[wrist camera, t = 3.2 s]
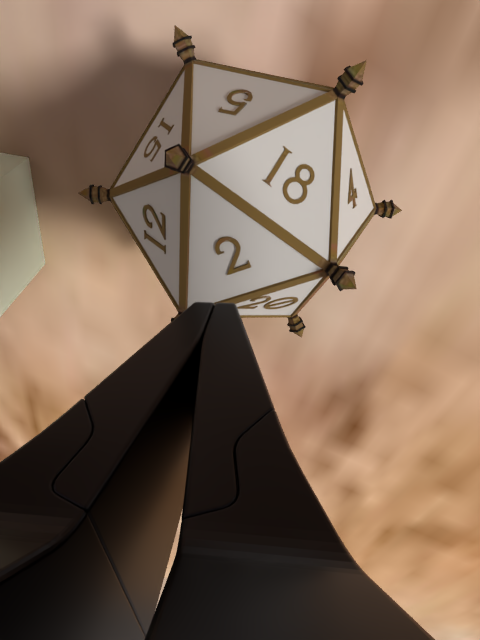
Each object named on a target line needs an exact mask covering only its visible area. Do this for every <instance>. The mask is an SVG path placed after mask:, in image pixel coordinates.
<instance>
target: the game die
mask: <svg viewBox="0 0 480 640" xmlns="http://www.w3.org/2000/svg"><path fill="white" fill-rule="evenodd" d="M191 38H192V36H188V35H187V34H185V33H184V32H183V31H182V30H180V29H179V28H178V27H176V26H175V33H174V43H173V47H174V48H175V47H176V49H177V55H178V57H179V56H180V57H181V59H182V60H183V61H184V66H183V68H182V70H181V71H180V73H179V75H178V76H177V78H176V80H175V81H174V83H173V85H172V86H171V88H170V90H169V91H168V93H167V95H166V96H165V98H164V100H163V101H162V103H161V105H160V106H159V108H158V110H157V111H156V113H155V115H154V116H153V118H152V120H151V121H150V123H149V125H148V126H147V128H146V130H145V131H144V133H143V135H142V136H141V138H140V140H139V141H138V143H137V145H136V146H135V148H134V150H133V151H132V153H131V155H130V156H129V158H128V160H127V161H126V163H125V165H124V166H123V168H122V170H121V171H120V173H119V175H118V176H117V178H116V180H115V181H114V183H113V185H112V187H111V188H110V189H106V188H103V187H102V186H101V185H100V186H98V187H96V186H94V185H90V187H89V188H87V189H85V190H83V191H81V192H79V194H80V195H82V196H83V197H85V198H86V199H88V200H89V201H91V203H92V204H94V202H99V203H100V204H102V202H104V201H111V203H112V204H113V206H114V207H115V209H116V211H117V212H118V214H119V216H120V217H121V219H122V221H123V222H124V224H125V226H126V227H127V229H128V230H129V232H130V234H131V235H132V237H133V239H134V240H135V242H136V244H137V245H138V247H139V248H140V250H141V252H142V253H143V255H144V257H145V258H146V260H147V262H148V263H149V265H150V266H151V268H152V270H153V271H154V273H155V275H156V276H157V278H158V280H159V281H160V283H161V284H162V286H163V288H164V289H165V291H166V293H167V294H168V296H169V298H170V299H171V301H172V302H173V304H174V306H175V307H176V309H177V311H178V315H177V316H176V317H175V318H177V317H178V316H179V315H180V314H181V313H182V312H184V311H185V310H186V309H187V308H188V307H189V306H191V305H192V304H193V303H195V302H212V303H214V304H216V303H234V304H236V306H237V309H238V311H239V314H240V317H241V318H246V317H287V318H288V320H289V323H288V324H287V325H288V326H290V330H289V331H290V332H294V333H295V334H297V335H298V336H300V337H302V334H303V330H304V328H305V325H304V324H303V321H302V319H301V318H300V317H298V316H297V314H298V312H299V311H300V310H301V309H302V308H303V307H304V306H305V305H306V303H307V302H308V301H309V300H310V299H311V298H312V297H313V296H314V294H315V293H316V292H317V291H318V290H319V289H320V288H321V287H322V285H323V284H324V283H325V282H326V281H327V280H328V279H329V278H330V279H331V281H332V283H333V285H334V286H335V285H337V287H338V289H339V290H340V291H341V290H343V289H356V284H355V279H354V275H355V272H354V271H349V270H348V267H344V266H339V265H340V263H341V262H342V261H343V259H344V258H345V256H346V255H347V253H348V252H349V250H350V249H351V247H352V246H353V245H354V243H355V242H356V240H357V239H358V237H359V236H360V234H361V233H362V232H363V230H364V229H365V227H366V226H367V224H368V223H369V221H370V220H371V218H372V217H373V216H374V215H375V214H378V215H379V216H380V217H383V218H384V217H388V218H392V216H394V215H395V214H397V213H399V212H400V211H402V210H401V209H400V208H398V207H397V206H396V205H395V204H394V203H393V201H392V200H390V202H386V201H385V200H383V201H382V202H381V203H375V201H374V198H373V195H372V191H371V188H370V185H369V181H368V178H367V175H366V171H365V168H364V165H363V161H362V158H361V155H360V151H359V148H358V145H357V141H356V138H355V135H354V131H353V128H352V125H351V121H350V118H349V115H348V111H347V108H346V105H345V101H344V98H345V96H347V95H348V94H350V93H351V92H352V93H355V92H356V90H355V89H356V88H357V87H358V86H359V85H363V81H362V79H363V74H364V70H365V65H366V61H364V62H362V63H359V64H357V65H355V66H352V67H351V66H348V67H346V68H345V69H344V70H345V72H344V73H343V75H341V76H339V77H338V78H337V79H338V80H339V81H338V83H337V85H336V87H335V88H333V87H328V86H323V85H318V84H313V83H308V82H303V81H299V80H294V79H289V78H284V77H279V76H274V75H269V74H265V73H260V72H255V71H250V70H245V69H240V68H235V67H231V66H226V65H221V64H216V63H211V62H206V61H202V60H197V59H196V58H195V56H194V48H195V45H192V42H191V40H190V39H191ZM175 318H171V322H172V321H173V320H174V319H175Z"/></svg>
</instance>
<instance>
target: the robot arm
mask: <svg viewBox="0 0 480 640" xmlns="http://www.w3.org/2000/svg"><path fill="white" fill-rule="evenodd" d="M84 399H85V400H84ZM84 399H81V400H80V401H78V402H77V403H76V404H75V405H74V406H73V407H71V408H70V409H69V410H68V411H67V412H66V413H64V414H63V415H62V416H61V417H59V418H58V419H57V420H56V421H55V422H53V423H52V424H51V425H50V426H48V427H47V428H46V429H45V430H43V431H42V432H41V433H39V434H38V435H37V436H35V437H34V438H33V439H31V440H30V441H29V442H27V443H26V444H25V445H23V446H22V447H21V448H19V449H18V450H17V451H15V452H14V453H12V454H11V455H10V456H8V457H7V458H5V459H4V460H3V461H1V462H0V640H435V639H434V638H433V637H432V636H431V635H430V634H429V633H427V632H426V631H425V630H424V629H423V628H422V627H421V626H420V625H419V624H418V623H417V622H416V621H415V620H414V619H413V618H412V617H411V616H410V615H409V614H407V613H406V612H405V611H404V610H403V609H402V608H401V607H400V606H399V605H398V604H397V603H396V602H395V601H394V600H393V599H392V598H391V597H390V596H389V595H387V594H386V593H385V592H384V591H383V590H382V589H381V588H380V587H379V586H378V585H377V584H376V583H375V582H374V581H373V580H372V579H371V578H370V577H369V576H368V575H367V574H366V573H365V572H364V571H363V570H362V569H361V568H360V567H359V565H358V564H357V563H356V561H355V560H354V559H353V557H352V556H351V555H350V553H349V552H348V550H347V548H346V547H345V545H344V544H343V542H342V541H341V539H340V537H339V536H338V534H337V532H336V530H335V529H334V527H333V525H332V523H331V522H330V520H329V518H328V516H327V514H326V513H325V511H324V509H323V507H322V506H321V504H320V502H319V500H318V498H317V497H316V495H315V493H314V491H313V490H312V488H311V486H310V484H309V482H308V481H307V479H306V477H305V475H304V474H303V472H302V470H301V468H300V466H299V464H298V462H297V460H296V458H295V456H294V454H293V452H292V450H291V448H290V446H289V444H288V441H287V439H286V436H285V434H284V432H283V429H282V427H281V424H280V422H279V419H278V416H277V414H276V412H275V409H274V406H273V403H272V401H271V398H270V395H269V393H268V390H267V387H266V384H265V382H264V379H263V376H262V374H261V371H260V368H259V365H258V363H257V360H256V357H255V355H254V352H253V349H252V347H251V344H250V341H249V338H248V336H247V333H246V330H245V328H244V325H243V322H242V319H241V317H240V314H239V311H238V309H237V306H236V304H234V303H216V304H214V303H212V302H195V303H193V304H192V305H191V306H189V307H188V308H187V309H186V310H185V311H184V312H182V313H181V314H180V315H179V316H178V317H177V318H175V319H174V320H173V321H172V322H171V323H170V324H168V325H167V326H166V327H165V328H164V329H163V330H161V331H160V332H159V333H158V334H157V335H156V336H154V337H153V338H152V339H151V340H150V341H149V342H147V343H146V344H145V345H144V346H143V347H142V348H140V349H139V350H138V351H137V352H136V353H135V354H134V355H132V356H131V357H130V358H129V359H128V360H127V361H125V362H124V363H123V364H122V365H121V366H120V367H118V368H117V369H116V370H115V371H114V372H113V373H111V374H110V375H109V376H108V377H107V378H106V379H104V380H103V381H102V382H101V383H100V384H99V385H97V386H96V387H95V388H94V389H93V390H92V391H90V392H89V393H88V394H87V395H86V396H85V397H84ZM182 509H183V511H182ZM181 512H182V523H181V529H180V536H179V542H178V547H177V552H176V556H175V559H174V562H173V565H172V568H171V571H170V573H169V576H168V579H167V581H166V584H165V587H164V590H163V592H162V595H161V597H160V600H159V603H158V605H157V601H158V598H159V594H160V590H161V587H162V583H163V579H164V576H165V572H166V568H167V564H168V561H169V557H170V553H171V549H172V546H173V542H174V538H175V535H176V531H177V527H178V523H179V520H180V516H181ZM156 605H157V608H156ZM155 609H156V611H155Z"/></svg>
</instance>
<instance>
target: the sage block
mask: <svg viewBox="0 0 480 640" xmlns="http://www.w3.org/2000/svg"><path fill="white" fill-rule="evenodd" d="M44 265H45V258H44V252H43V245H42V239H41V232H40V226H39V220H38V213H37V207H36V200H35V194H34V188H33V181H32V175H31V168H30V162H29V157H23V156H17V155H12V154H6V153H1V152H0V317H1V316H2V314H3V313H4V312H5V311H6V310H7V308H8V307H9V306H10V305H11V304H12V303H13V301H14V300H15V299H16V298H17V297H18V296H19V294H20V293H21V292H22V291H23V290H24V288H25V287H26V286H27V285H28V284H29V283H30V281H31V280H32V279H33V278H34V277H35V275H36V274H37V273H38V272H39V271H40V270H41V268H42V267H43V266H44Z"/></svg>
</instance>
